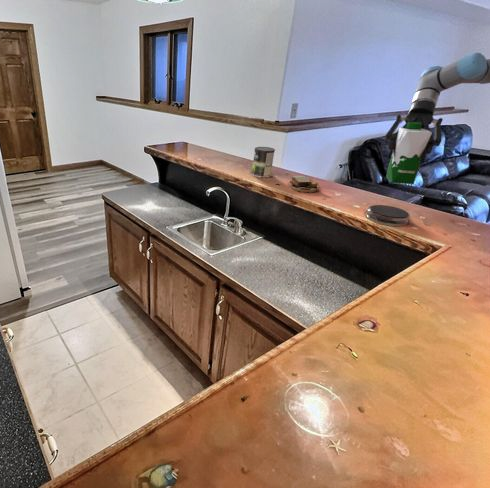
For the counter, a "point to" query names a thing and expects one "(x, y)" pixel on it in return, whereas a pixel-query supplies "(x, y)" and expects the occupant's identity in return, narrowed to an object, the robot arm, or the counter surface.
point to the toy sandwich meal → (303, 184)
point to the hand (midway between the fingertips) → (406, 158)
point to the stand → (387, 215)
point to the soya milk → (407, 153)
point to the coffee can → (262, 162)
